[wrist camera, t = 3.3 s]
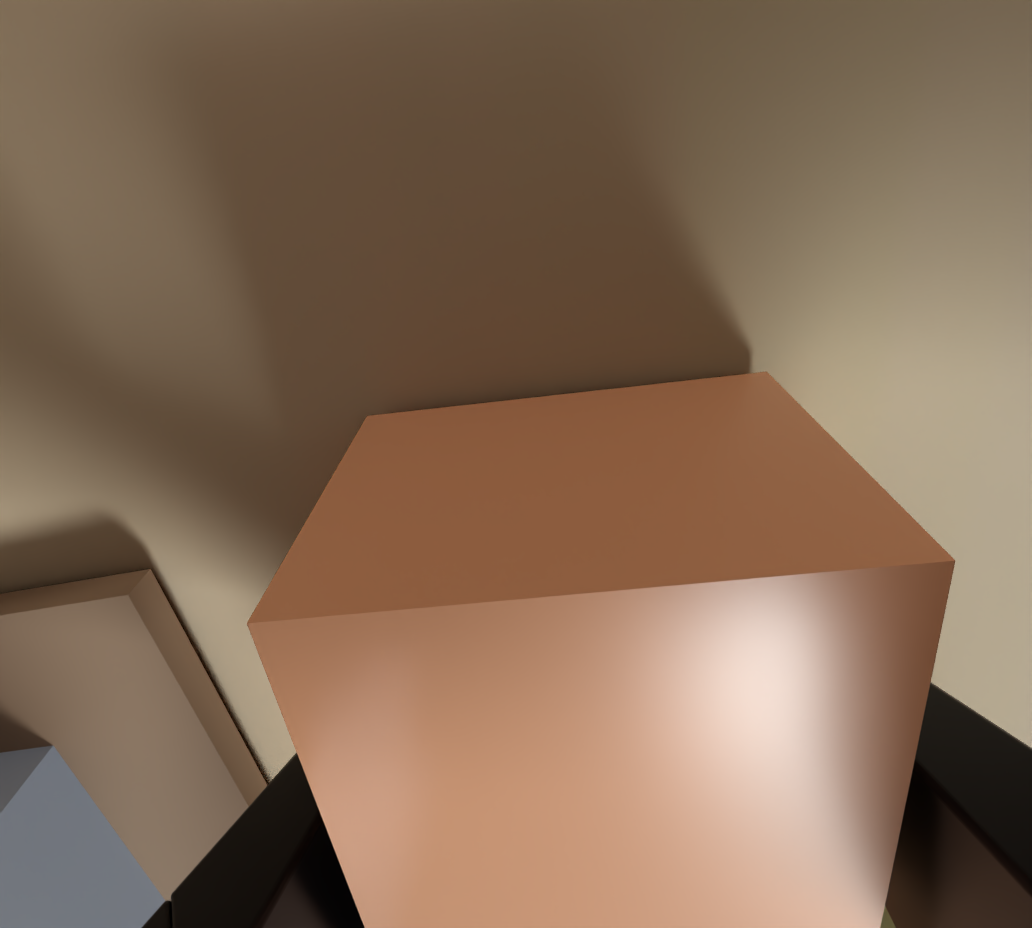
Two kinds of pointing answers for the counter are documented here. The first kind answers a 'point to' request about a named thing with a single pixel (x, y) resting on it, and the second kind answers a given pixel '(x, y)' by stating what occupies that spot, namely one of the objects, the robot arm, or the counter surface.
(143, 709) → the walnut board
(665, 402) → the terracotta brick
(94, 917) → the base brick
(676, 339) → the counter surface
